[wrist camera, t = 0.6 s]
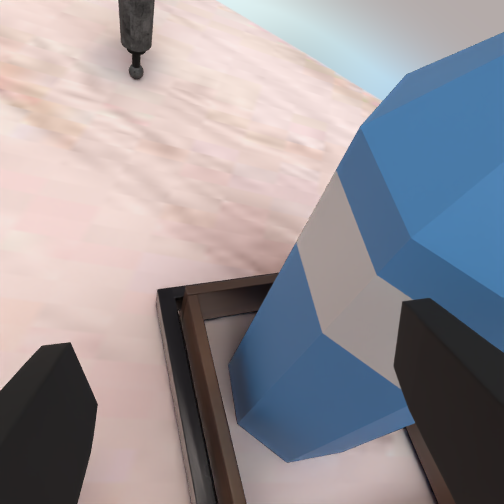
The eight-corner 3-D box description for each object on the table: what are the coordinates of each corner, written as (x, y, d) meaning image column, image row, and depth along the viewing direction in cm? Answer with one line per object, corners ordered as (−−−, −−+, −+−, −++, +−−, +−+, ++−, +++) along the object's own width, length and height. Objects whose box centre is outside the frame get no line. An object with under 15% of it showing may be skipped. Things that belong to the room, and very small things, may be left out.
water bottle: (368, 338, 30) (834, -54, 10) (362, 482, 25) (1337, 260, 5) (243, 302, 30) (476, -197, 9) (209, 442, 24) (585, -21, 4)
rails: (539, 672, 22) (571, 683, 20) (253, 848, 17) (265, 882, 15) (358, 273, 33) (370, 259, 32) (155, 303, 28) (157, 289, 27)
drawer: (507, 640, 22) (571, 658, 19) (272, 770, 18) (304, 824, 14) (353, 287, 32) (377, 259, 29) (179, 315, 28) (185, 286, 24)
